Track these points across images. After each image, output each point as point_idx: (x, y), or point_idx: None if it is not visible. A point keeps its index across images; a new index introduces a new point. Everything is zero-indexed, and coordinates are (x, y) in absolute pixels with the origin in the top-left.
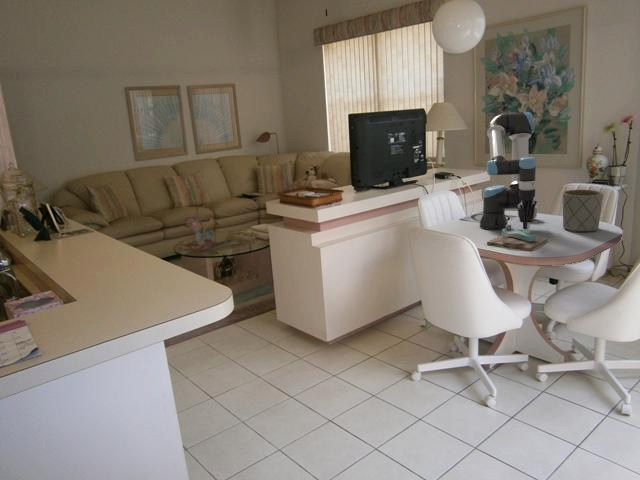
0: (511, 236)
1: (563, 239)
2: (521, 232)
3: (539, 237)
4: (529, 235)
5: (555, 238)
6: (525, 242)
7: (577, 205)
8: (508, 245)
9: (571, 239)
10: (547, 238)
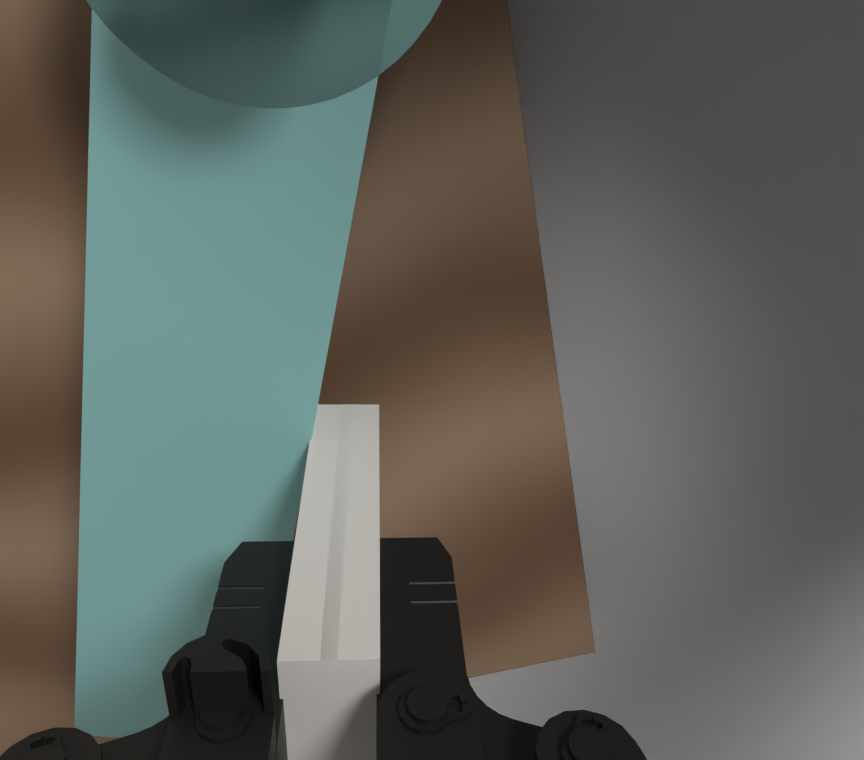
0: None
1: (799, 680)
2: (243, 436)
3: (557, 548)
4: (161, 681)
5: (802, 594)
6: (65, 590)
7: None
8: None
9: (849, 730)
10: (572, 656)
